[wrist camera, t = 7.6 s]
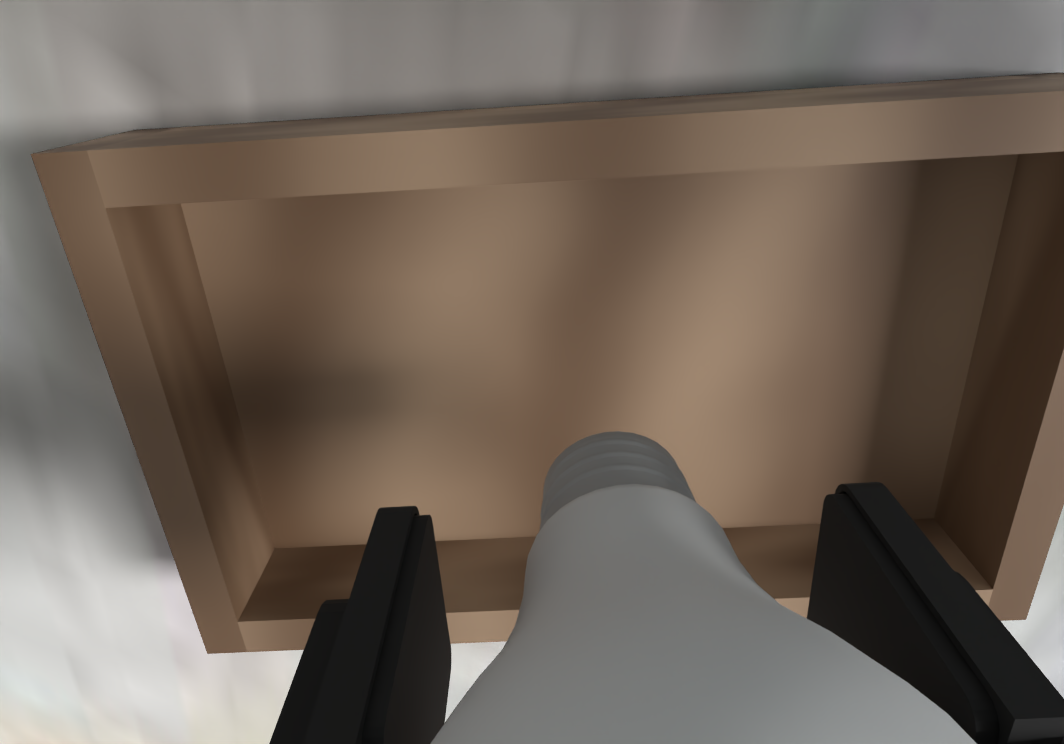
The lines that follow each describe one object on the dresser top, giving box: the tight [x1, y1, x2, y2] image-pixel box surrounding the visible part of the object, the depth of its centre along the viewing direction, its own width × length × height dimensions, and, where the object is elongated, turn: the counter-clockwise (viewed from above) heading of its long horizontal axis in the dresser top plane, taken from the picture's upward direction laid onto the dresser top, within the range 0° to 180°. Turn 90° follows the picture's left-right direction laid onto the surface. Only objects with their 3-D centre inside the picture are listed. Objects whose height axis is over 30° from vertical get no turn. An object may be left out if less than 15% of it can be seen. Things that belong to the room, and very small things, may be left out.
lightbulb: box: [430, 431, 977, 744], centre depth 8 cm, size 6×6×11 cm
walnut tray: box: [31, 73, 1064, 654], centre depth 16 cm, size 20×12×4 cm, turn 93°
